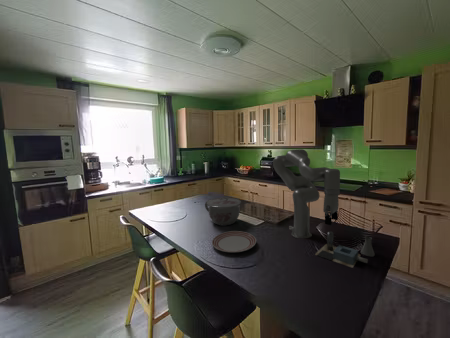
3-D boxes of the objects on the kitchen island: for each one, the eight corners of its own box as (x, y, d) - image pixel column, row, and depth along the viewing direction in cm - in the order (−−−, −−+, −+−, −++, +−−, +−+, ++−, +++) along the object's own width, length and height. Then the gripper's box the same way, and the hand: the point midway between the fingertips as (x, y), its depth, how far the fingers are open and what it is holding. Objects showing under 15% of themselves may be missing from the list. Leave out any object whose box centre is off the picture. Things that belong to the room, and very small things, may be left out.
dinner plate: (217, 260, 113) (217, 254, 113) (208, 238, 139) (207, 234, 139) (264, 251, 120) (264, 246, 120) (246, 232, 147) (246, 228, 146)
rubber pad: (317, 255, 112) (317, 255, 112) (322, 250, 117) (322, 250, 116) (331, 260, 107) (331, 260, 107) (335, 255, 112) (335, 254, 112)
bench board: (314, 256, 113) (314, 254, 113) (325, 245, 124) (325, 243, 124) (352, 270, 100) (352, 267, 100) (361, 256, 112) (361, 254, 111)
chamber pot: (247, 225, 159) (247, 198, 157) (213, 232, 149) (212, 203, 147) (233, 214, 185) (232, 191, 183) (203, 219, 175) (201, 195, 173)
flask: (360, 250, 118) (361, 233, 117) (376, 254, 113) (377, 237, 112) (358, 256, 112) (359, 238, 111) (375, 260, 108) (376, 242, 107)
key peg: (326, 249, 118) (326, 232, 117) (328, 247, 120) (328, 230, 119) (331, 251, 116) (332, 234, 115) (333, 249, 118) (334, 232, 117)
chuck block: (333, 258, 109) (333, 251, 108) (339, 251, 115) (339, 244, 115) (364, 269, 99) (365, 261, 98) (369, 261, 105) (369, 253, 105)
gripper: (330, 188, 122) (329, 216, 124) (318, 193, 110) (318, 224, 112) (344, 189, 117) (343, 219, 119) (333, 195, 105) (333, 228, 107)
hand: (331, 221), depth 116 cm, fingers open, 9 cm apart
